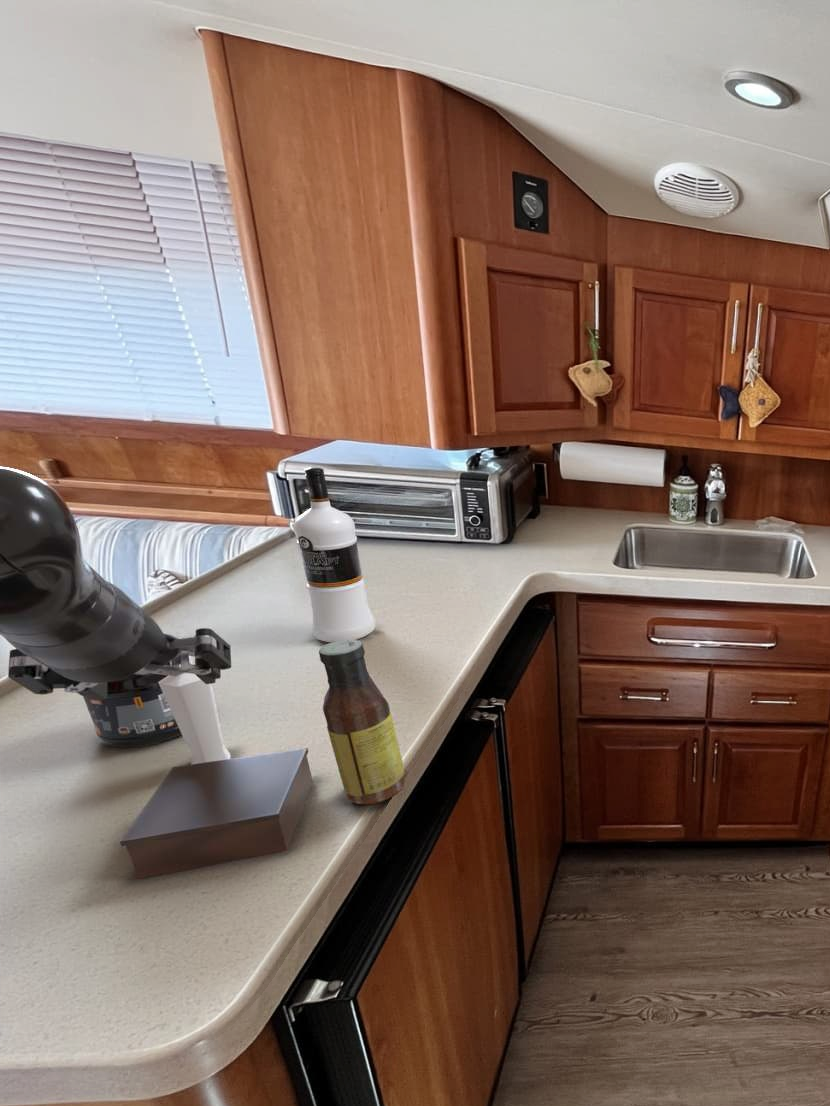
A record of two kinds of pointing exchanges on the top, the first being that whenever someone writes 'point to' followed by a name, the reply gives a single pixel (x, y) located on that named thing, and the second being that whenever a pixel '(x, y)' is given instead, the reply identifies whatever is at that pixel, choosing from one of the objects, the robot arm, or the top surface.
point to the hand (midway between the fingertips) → (158, 682)
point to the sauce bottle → (360, 726)
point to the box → (220, 812)
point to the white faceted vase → (195, 716)
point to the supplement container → (133, 712)
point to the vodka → (332, 567)
